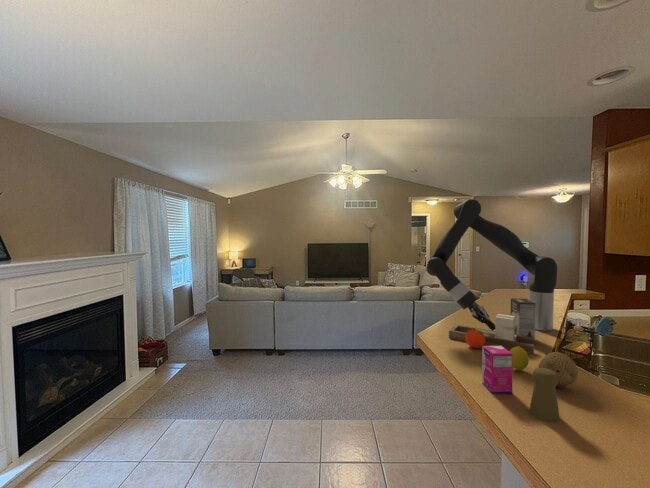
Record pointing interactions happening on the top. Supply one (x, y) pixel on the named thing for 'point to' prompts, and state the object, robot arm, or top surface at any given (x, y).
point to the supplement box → (497, 369)
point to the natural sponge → (561, 368)
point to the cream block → (505, 326)
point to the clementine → (475, 338)
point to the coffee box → (523, 316)
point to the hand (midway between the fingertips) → (494, 329)
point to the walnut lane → (495, 338)
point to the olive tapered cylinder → (545, 395)
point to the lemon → (519, 358)
